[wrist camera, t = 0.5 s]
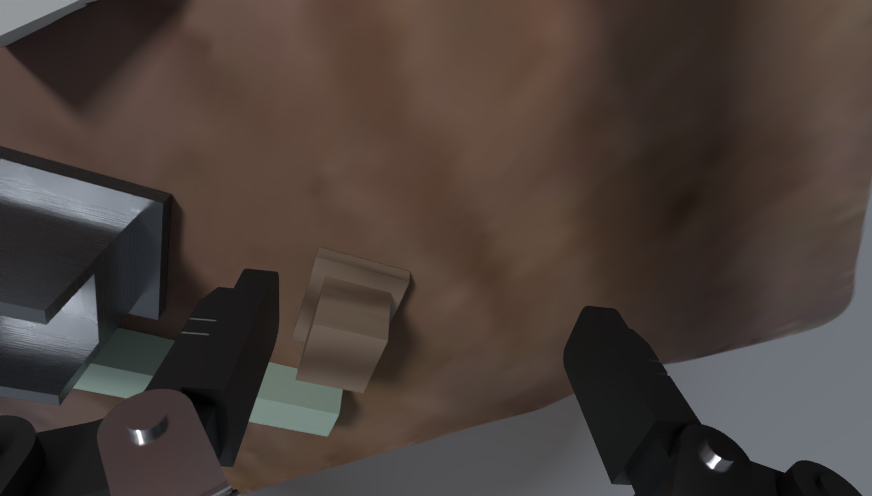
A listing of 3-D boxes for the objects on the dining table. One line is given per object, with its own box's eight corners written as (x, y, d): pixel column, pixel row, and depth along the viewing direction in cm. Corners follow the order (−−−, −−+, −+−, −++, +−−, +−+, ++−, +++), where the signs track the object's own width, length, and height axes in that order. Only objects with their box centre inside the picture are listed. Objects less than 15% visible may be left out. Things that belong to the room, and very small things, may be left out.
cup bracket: (-49, 132, 26) (-260, 224, 18) (171, 194, 29) (77, 296, 21) (-15, 270, 32) (-162, 386, 23) (165, 309, 35) (90, 424, 26)
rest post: (319, 247, 32) (302, 303, 27) (409, 271, 34) (409, 329, 29) (295, 329, 37) (277, 389, 32) (375, 347, 38) (370, 407, 33)
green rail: (50, 308, 34) (13, 347, 31) (344, 376, 41) (339, 414, 38) (52, 337, 36) (17, 377, 33) (333, 398, 43) (327, 436, 40)
